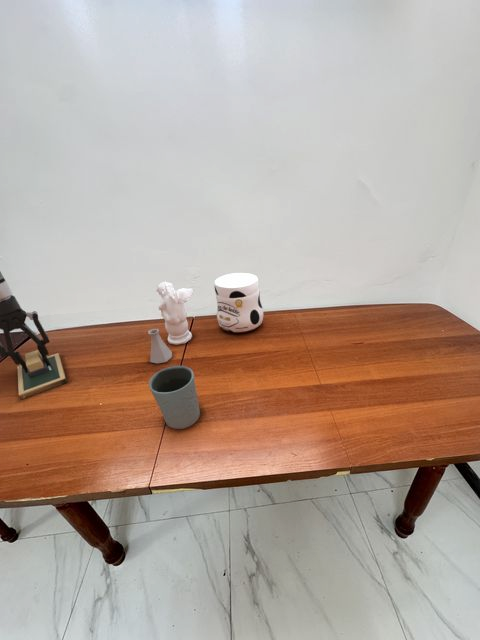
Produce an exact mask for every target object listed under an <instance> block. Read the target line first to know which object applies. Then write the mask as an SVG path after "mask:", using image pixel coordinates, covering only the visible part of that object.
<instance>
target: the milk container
mask: <svg viewBox="0 0 480 640" xmlns="http://www.w3.org/2000/svg"><path fill="white" fill-rule="evenodd" d="M213 285H214V292H215V299H216V304H217V305H216V320H217V323H218V326H219V327H220V328H221V329H222V330H224V331H225V332H228V333H232V334H242V333H243V334H244V333H249V332H251V331H254V330H256V329H258V328H259V327H260V326H261V325H262V323H263V321H264V308H263V306H262V302H261V293H260V292H261V291H260V282H259V277H258V276H256V274H253V273H248V272H233V273H227V274H224V275H221V276H219V277H217V278H216V279H215V280H214V284H213Z"/></svg>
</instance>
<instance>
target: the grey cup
mask: <svg viewBox="0 0 480 640" xmlns="http://www.w3.org/2000/svg"><path fill="white" fill-rule="evenodd" d="M148 382H149V383H148V387H149V389H150V392H151V394H152V396H153V399H154V400H155V402H156V403H157V405H158V408H159V410H160V412H161V414H162V416H163V420H164V422H165V424H166V425H167V427H168V428H171V429H175V430H183V429H187V428H190V427H191V426H193V425H194V424H195V423H197V421H198V420H199V418H200V416H201V410H200V404H199V398H198V391H197V386H196V381H195V373H194V370H192V369H191V368H190V367H188V366H184V365H172V366H169V367H165V368H163V369H160V370H159V371H157V372H156V373H154V374H153V375H152V376H151V377H150V379H149V381H148Z"/></svg>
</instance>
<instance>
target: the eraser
mask: <svg viewBox="0 0 480 640" xmlns="http://www.w3.org/2000/svg"><path fill="white" fill-rule="evenodd" d="M24 358H25V363H26V366H27V372H28V375H29V377H30V378H31V377H34V376H37V375H40V374H42V373H45V372H48V371H49V370H48V366H47V364H46V363H45V361H44V359H43V357H42V356H41V354H40V352H39V350H38V349H36V350H32V351H30V352H27V353H25V354H24Z"/></svg>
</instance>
